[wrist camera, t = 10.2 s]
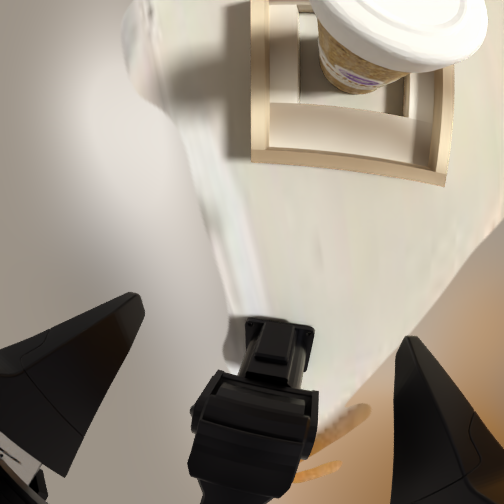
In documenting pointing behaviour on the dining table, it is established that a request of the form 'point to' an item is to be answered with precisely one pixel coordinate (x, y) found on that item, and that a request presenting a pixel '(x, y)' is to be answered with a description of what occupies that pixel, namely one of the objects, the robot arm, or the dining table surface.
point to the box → (341, 111)
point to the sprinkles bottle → (394, 38)
